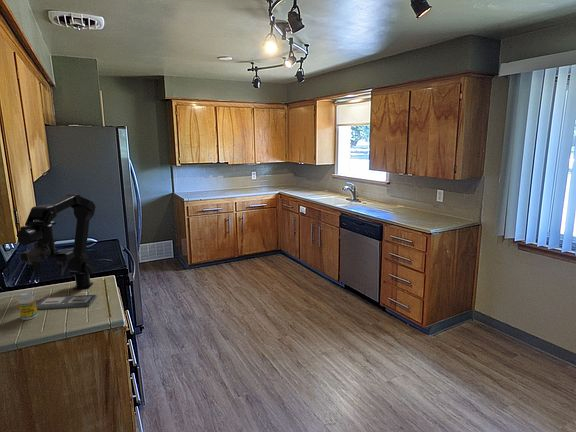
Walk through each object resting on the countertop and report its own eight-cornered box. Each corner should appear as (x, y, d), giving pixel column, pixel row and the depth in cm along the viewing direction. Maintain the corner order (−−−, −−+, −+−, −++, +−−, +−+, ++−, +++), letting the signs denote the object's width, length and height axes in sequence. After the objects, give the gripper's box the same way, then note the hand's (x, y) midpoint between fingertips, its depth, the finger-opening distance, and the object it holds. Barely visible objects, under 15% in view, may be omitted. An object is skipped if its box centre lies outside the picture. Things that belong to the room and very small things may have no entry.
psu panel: (45, 300, 158) (45, 296, 157) (96, 297, 160) (96, 294, 160) (34, 309, 149) (34, 306, 149) (88, 306, 152) (88, 303, 151)
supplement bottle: (37, 312, 146) (34, 289, 144) (37, 317, 142) (34, 293, 140) (20, 315, 143) (17, 292, 142) (20, 321, 139) (16, 297, 137)
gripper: (6, 243, 141) (12, 283, 144) (55, 244, 140) (60, 283, 143) (27, 236, 152) (32, 273, 155) (73, 236, 151) (77, 273, 154)
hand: (50, 275), depth 152 cm, fingers open, 9 cm apart
